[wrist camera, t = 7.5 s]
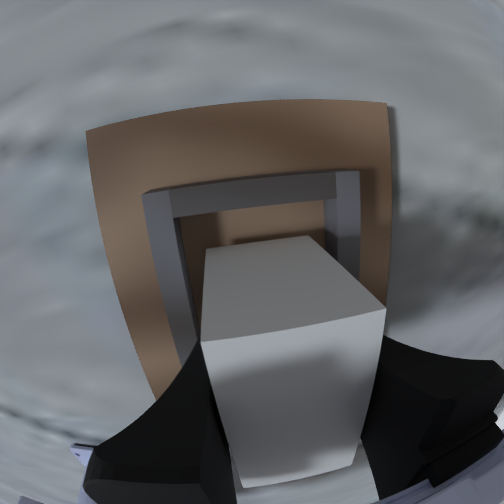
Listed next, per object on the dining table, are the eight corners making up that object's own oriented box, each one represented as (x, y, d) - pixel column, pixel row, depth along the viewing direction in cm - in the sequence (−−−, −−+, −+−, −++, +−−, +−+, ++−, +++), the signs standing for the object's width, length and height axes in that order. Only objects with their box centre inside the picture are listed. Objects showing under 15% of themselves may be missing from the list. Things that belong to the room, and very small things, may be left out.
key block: (307, 235, 12) (386, 308, 6) (310, 370, 14) (351, 464, 8) (206, 248, 11) (200, 342, 6) (230, 383, 14) (243, 488, 8)
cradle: (362, 394, 18) (376, 418, 15) (174, 426, 17) (172, 454, 14) (375, 105, 12) (405, 99, 10) (94, 132, 11) (69, 128, 9)
